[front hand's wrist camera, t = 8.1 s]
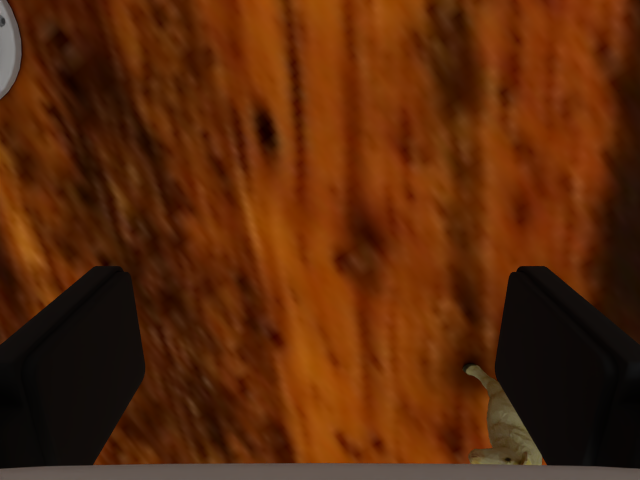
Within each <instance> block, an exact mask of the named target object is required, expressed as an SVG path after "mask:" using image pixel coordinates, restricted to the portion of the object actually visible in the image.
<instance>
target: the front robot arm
mask: <svg viewBox="0 0 640 480" xmlns="http://www.w3.org/2000/svg"><path fill="white" fill-rule="evenodd" d="M21 56H22V53H21V38H20V33H19V29H18V24H17V22H16V19H15V17H14V14H13V12H12V9H11V7H10V6H9V4H8V2H7V0H0V99H1V98H2V97H3V96H4V95H5V94H6V93H7V92H8V91H9V90H10V88H11V87H12V85H13V84H14V82H15V80H16V77H17V75H18V72H19V69H20V63H21ZM144 374H145V361H144V355H143V349H142V342H141V336H140V330H139V324H138V317H137V311H136V305H135V299H134V292H133V286H132V280H131V276H130V274H129V273H128V272H124V271H123V269H122V268H121V267H119V266H95V267H93V268H92V269H91V270H90V271H88V272H87V273H86V274H85V275H84V276H82V277H81V278H80V279H79V280H78V281H76V282H75V283H74V284H73V285H72V286H70V287H69V288H68V289H67V290H66V291H64V292H63V293H62V294H61V295H60V296H58V297H57V298H56V299H55V300H54V301H52V302H51V303H50V304H49V305H48V306H46V307H45V308H44V309H43V310H42V311H40V312H39V313H38V314H37V315H36V316H35V317H33V318H32V319H31V320H30V321H29V322H27V323H26V324H25V325H24V326H23V327H21V328H20V329H19V330H18V331H17V332H15V333H14V334H13V335H12V336H11V337H9V338H8V339H7V340H6V341H5V342H3V343H2V344H1V345H0V480H640V345H639V344H638V343H637V342H635V341H634V340H633V339H632V338H631V337H629V336H628V335H627V334H626V333H625V332H623V331H622V330H621V329H620V328H619V327H617V326H616V325H615V324H614V323H613V322H611V321H610V320H609V319H608V318H607V317H605V316H604V315H603V314H602V313H601V312H600V311H598V310H597V309H596V308H595V307H594V306H592V305H591V304H590V303H589V302H588V301H586V300H585V299H584V298H583V297H582V296H580V295H579V294H578V293H577V292H576V291H574V290H573V289H572V288H571V287H570V286H568V285H567V284H566V283H565V282H564V281H562V280H561V279H560V278H559V277H558V276H556V275H555V274H554V273H553V272H552V271H550V270H549V269H548V268H547V267H545V266H521V267H519V268H518V269H517V271H516V272H512V273H511V274H510V276H509V280H508V286H507V292H506V299H505V305H504V311H503V317H502V324H501V330H500V336H499V342H498V349H497V355H496V361H495V374H496V378H497V380H498V382H499V384H500V385H501V387H502V389H503V390H504V392H505V394H506V396H507V397H508V399H509V401H510V402H511V404H512V406H513V408H514V409H515V411H516V413H517V414H518V416H519V418H520V419H521V421H522V423H523V425H524V426H525V428H526V430H527V431H528V433H529V435H530V436H531V438H532V440H533V442H534V443H535V445H536V447H537V448H538V450H539V452H540V454H541V455H542V457H543V459H544V460H545V462H546V464H547V465H498V464H349V463H291V464H142V465H93V464H94V462H95V460H96V459H97V457H98V455H99V454H100V452H101V450H102V448H103V447H104V445H105V443H106V442H107V440H108V438H109V436H110V435H111V433H112V431H113V430H114V428H115V426H116V425H117V423H118V421H119V419H120V418H121V416H122V414H123V413H124V411H125V409H126V408H127V406H128V404H129V402H130V401H131V399H132V397H133V396H134V394H135V392H136V390H137V389H138V387H139V385H140V384H141V382H142V380H143V378H144Z"/></svg>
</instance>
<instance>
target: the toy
mask: <svg viewBox="0 0 640 480" xmlns="http://www.w3.org/2000/svg"><path fill="white" fill-rule="evenodd" d="M463 370H464V372H465V373H467V374H469V375H473V376H475V377H476V378H478V379H479V380H480V381H481V382H482V384H483V386H484V387H485V388H486V389H487V390H488V395H489V397H490V399H489V404H488V412H487V424H488V432H489V439H490V443H491V445H492V447H493V448H490V449H474V450H472V451H471V452H470V454H469V456H468V458H469V461H470V463H471V464H498V465H542V455H541V454H540V452H539V450H538V448H537V447H536V445H535V443H534V442H533V440H532V438H531V436H530V435H529V433H528V431H527V430H526V428H525V426H524V425H523V423H522V421H521V419H520V418H519V416H518V414H517V413H516V411H515V409H514V408H513V406H512V404H511V402H510V401H509V399H508V397H507V396H506V394H505V392H504V390H503V389H502V387H501V385H500V384H499V382H498V381H496V380H495V379H493V378H491V377H489V376H488V375H487V374H486V373H485V372H484V371H483V370H482V369H481V368H480V367H479V366H478V365H475V364H467V365H465V366H464V367H463Z"/></svg>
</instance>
